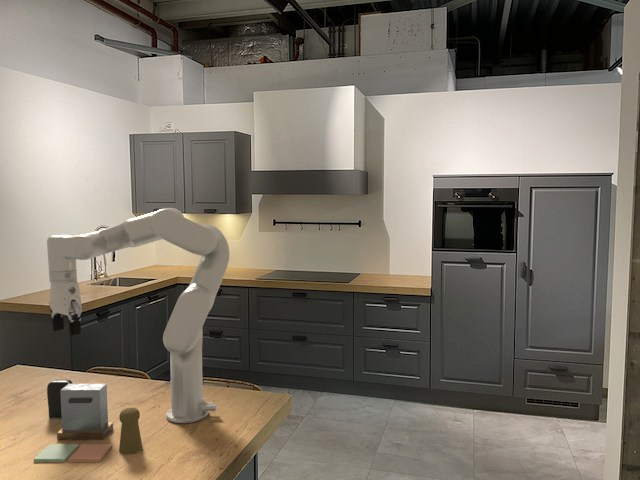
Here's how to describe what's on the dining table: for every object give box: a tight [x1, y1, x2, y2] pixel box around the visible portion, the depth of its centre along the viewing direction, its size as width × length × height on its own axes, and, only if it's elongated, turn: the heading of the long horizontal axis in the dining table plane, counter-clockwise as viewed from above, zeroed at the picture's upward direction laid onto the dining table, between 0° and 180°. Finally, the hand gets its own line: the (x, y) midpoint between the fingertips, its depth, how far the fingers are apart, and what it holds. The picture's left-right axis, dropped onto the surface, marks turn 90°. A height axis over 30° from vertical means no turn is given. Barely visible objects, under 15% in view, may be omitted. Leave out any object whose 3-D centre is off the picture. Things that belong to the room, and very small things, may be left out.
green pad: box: [33, 444, 80, 463], centre depth 143 cm, size 8×8×1 cm
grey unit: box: [56, 383, 114, 441], centre depth 154 cm, size 13×7×14 cm, turn 90°
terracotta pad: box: [68, 443, 113, 463], centre depth 143 cm, size 8×8×1 cm
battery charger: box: [46, 378, 73, 419], centre depth 167 cm, size 7×4×11 cm, turn 92°
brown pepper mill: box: [118, 407, 143, 455], centre depth 146 cm, size 6×6×11 cm
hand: (66, 332), depth 164 cm, fingers open, 9 cm apart
